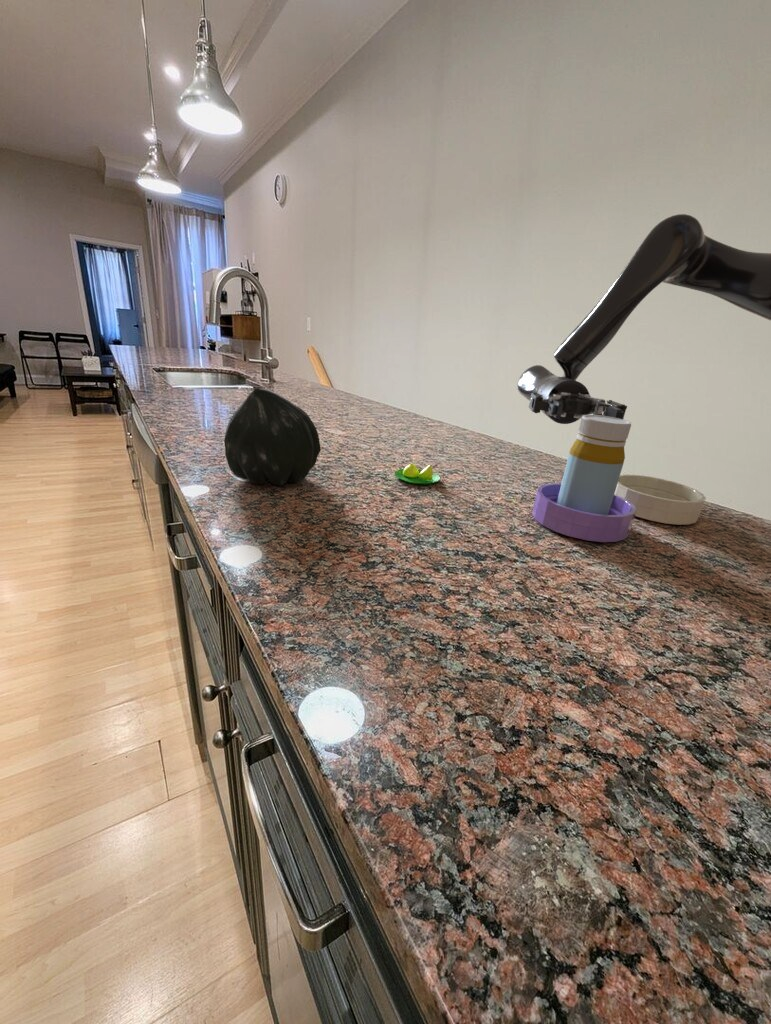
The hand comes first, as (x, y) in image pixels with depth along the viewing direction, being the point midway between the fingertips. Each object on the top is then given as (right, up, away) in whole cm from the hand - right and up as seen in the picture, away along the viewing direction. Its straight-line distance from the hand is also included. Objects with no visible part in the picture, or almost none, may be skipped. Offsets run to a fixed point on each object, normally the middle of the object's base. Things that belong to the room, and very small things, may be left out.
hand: (588, 414), depth 67 cm
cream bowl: (+14, -14, +7) cm, 21 cm away
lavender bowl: (-2, -16, -1) cm, 17 cm away
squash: (-49, -9, +6) cm, 50 cm away
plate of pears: (-25, -9, +12) cm, 29 cm away
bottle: (-2, -16, -1) cm, 16 cm away
